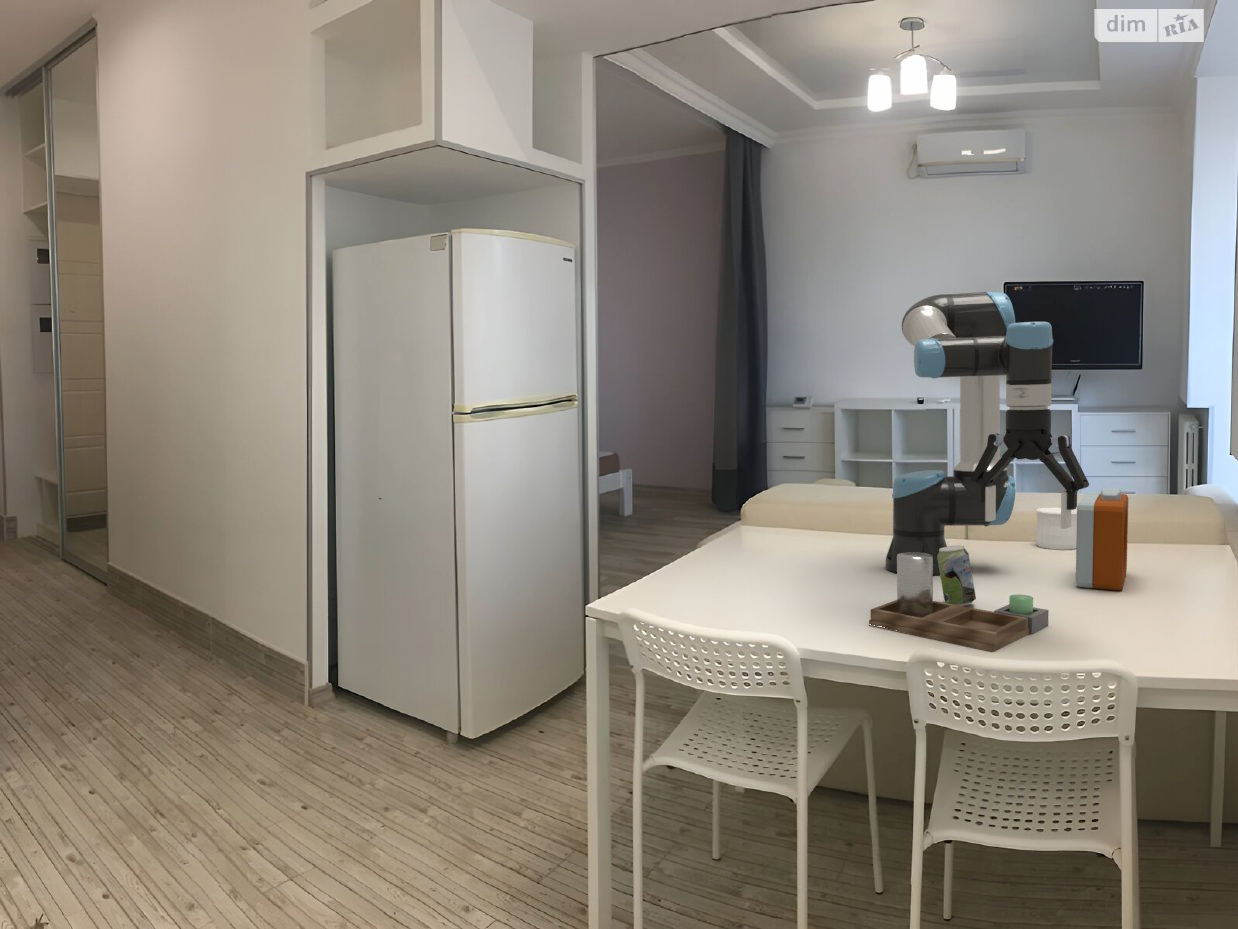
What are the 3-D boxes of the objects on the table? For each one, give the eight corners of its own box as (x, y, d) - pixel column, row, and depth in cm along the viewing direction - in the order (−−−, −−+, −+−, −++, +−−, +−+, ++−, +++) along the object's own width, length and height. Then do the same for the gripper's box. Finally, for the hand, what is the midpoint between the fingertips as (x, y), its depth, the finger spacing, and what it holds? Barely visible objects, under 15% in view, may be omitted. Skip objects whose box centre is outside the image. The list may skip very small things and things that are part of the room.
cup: (1085, 549, 229) (1086, 512, 228) (1046, 551, 229) (1046, 513, 228) (1067, 542, 238) (1068, 506, 237) (1029, 543, 238) (1030, 507, 237)
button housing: (993, 626, 166) (993, 611, 166) (1010, 618, 171) (1010, 603, 170) (1031, 634, 161) (1032, 617, 160) (1048, 625, 165) (1048, 609, 165)
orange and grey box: (1122, 592, 187) (1124, 495, 184) (1075, 588, 191) (1076, 493, 189) (1126, 574, 202) (1128, 483, 200) (1083, 570, 207) (1084, 482, 205)
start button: (1005, 621, 166) (1005, 597, 165) (1015, 616, 168) (1015, 593, 168) (1027, 625, 163) (1027, 601, 162) (1036, 620, 165) (1036, 596, 165)
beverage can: (978, 609, 178) (978, 549, 177) (939, 608, 180) (939, 549, 178) (972, 601, 184) (972, 543, 183) (935, 600, 186) (935, 543, 184)
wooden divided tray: (869, 625, 170) (869, 610, 169) (908, 610, 179) (908, 595, 179) (992, 651, 152) (993, 634, 152) (1029, 633, 161) (1029, 617, 161)
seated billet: (890, 618, 170) (890, 556, 169) (908, 611, 175) (908, 550, 173) (921, 624, 166) (921, 560, 164) (939, 617, 170) (939, 555, 169)
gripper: (952, 408, 168) (952, 520, 171) (1094, 409, 150) (1092, 534, 152) (970, 407, 174) (970, 515, 176) (1110, 407, 155) (1107, 527, 158)
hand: (1027, 524), depth 164 cm, fingers open, 13 cm apart
